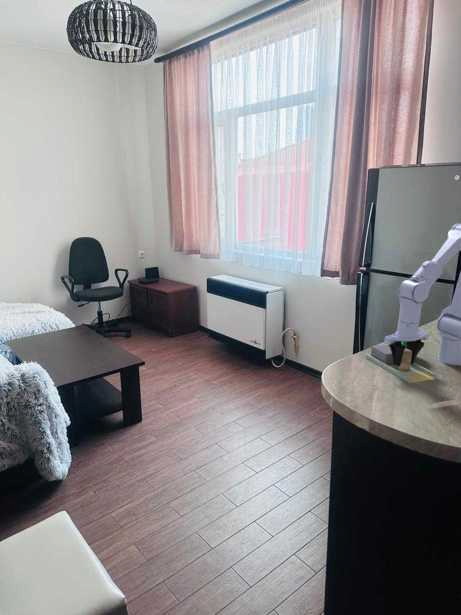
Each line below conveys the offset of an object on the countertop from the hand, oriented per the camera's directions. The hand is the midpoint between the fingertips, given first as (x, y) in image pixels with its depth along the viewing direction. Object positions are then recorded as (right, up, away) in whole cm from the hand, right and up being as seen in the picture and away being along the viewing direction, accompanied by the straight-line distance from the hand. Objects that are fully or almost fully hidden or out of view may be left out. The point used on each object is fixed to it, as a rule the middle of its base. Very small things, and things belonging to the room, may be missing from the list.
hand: (403, 364), depth 128 cm
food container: (+6, 0, +13) cm, 14 cm away
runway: (-1, -2, +2) cm, 3 cm away
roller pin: (0, -2, 0) cm, 2 cm away
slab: (-2, 0, +7) cm, 7 cm away
